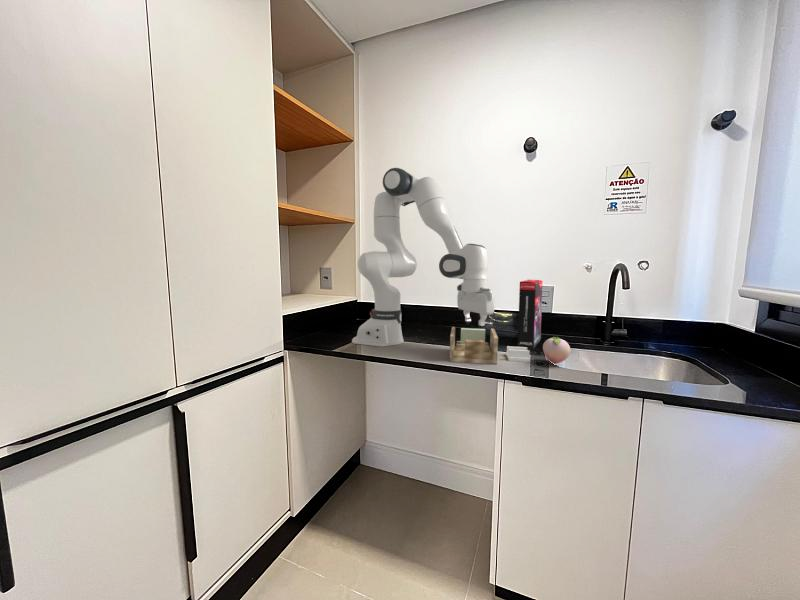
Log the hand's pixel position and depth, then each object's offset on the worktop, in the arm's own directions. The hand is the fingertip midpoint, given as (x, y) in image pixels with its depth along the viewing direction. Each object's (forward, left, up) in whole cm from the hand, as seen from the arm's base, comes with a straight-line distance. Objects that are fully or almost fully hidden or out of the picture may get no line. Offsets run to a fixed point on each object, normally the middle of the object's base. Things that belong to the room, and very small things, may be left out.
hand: (474, 323), depth 125 cm
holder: (+15, -4, -11) cm, 20 cm away
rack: (-1, -5, -11) cm, 12 cm away
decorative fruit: (+27, -8, -12) cm, 31 cm away
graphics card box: (+23, +19, -12) cm, 33 cm away
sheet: (-1, 0, -10) cm, 10 cm away
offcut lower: (-1, -10, -10) cm, 14 cm away
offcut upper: (0, -10, -7) cm, 13 cm away
